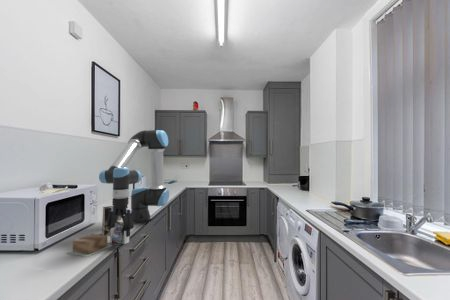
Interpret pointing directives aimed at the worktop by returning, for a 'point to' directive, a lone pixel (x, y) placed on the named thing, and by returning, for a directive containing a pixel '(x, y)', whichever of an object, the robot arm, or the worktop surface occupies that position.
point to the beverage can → (118, 233)
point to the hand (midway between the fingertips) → (119, 241)
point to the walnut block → (89, 243)
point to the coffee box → (104, 223)
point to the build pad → (88, 254)
